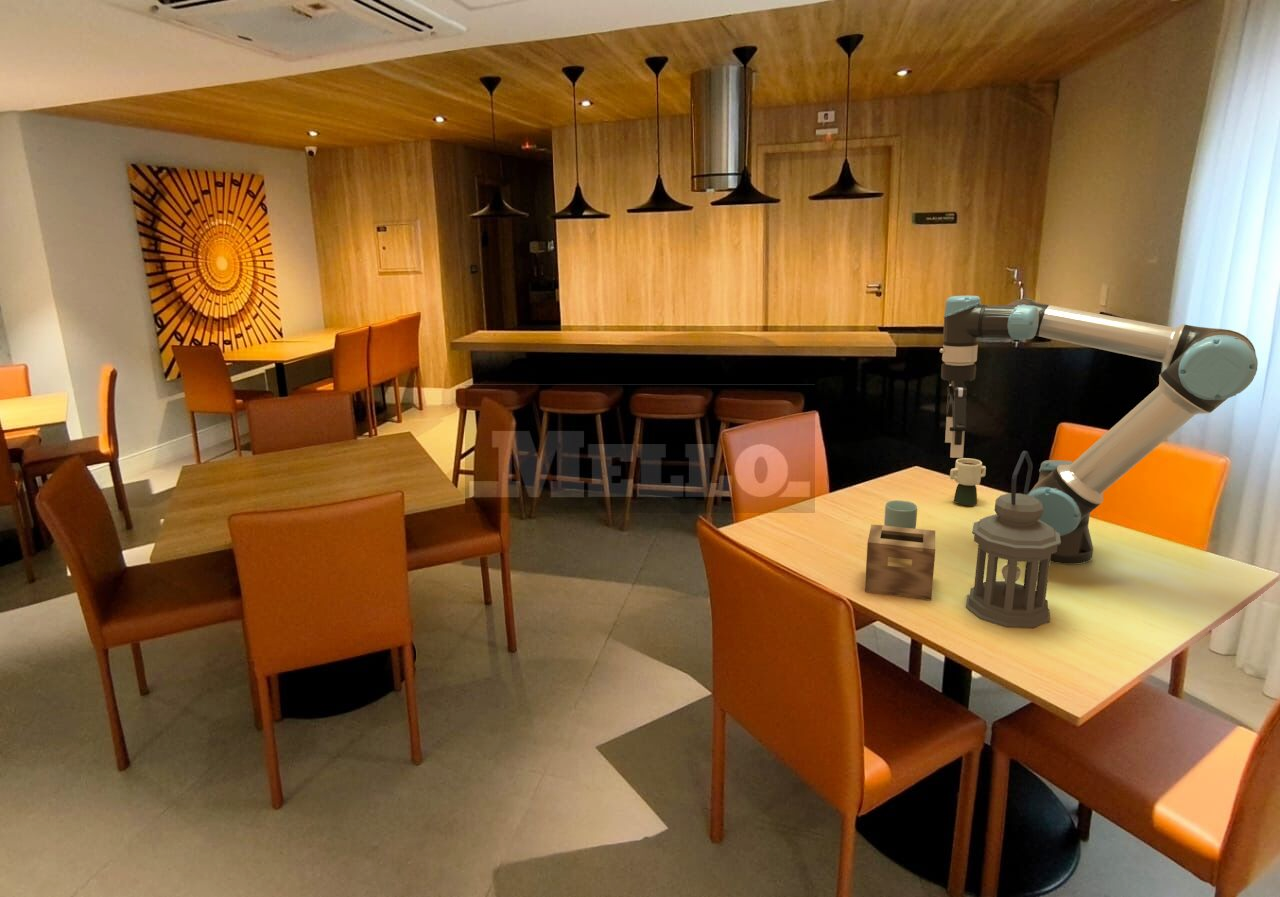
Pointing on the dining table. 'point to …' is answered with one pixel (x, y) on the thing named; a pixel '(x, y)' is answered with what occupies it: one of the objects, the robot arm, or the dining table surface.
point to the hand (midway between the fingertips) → (953, 449)
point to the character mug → (967, 480)
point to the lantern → (1013, 560)
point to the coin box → (900, 561)
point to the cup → (900, 514)
